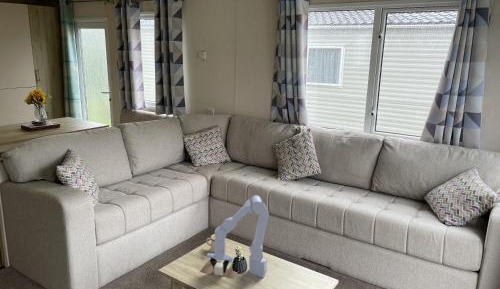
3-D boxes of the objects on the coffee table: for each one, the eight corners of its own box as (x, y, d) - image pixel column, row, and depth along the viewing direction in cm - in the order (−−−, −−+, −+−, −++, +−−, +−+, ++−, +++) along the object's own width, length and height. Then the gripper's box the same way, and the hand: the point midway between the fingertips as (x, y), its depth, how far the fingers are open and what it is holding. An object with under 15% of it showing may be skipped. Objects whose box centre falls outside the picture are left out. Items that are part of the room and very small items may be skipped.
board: (241, 266, 227) (241, 260, 226) (233, 280, 214) (233, 273, 213) (209, 260, 233) (209, 254, 232) (199, 273, 220) (199, 267, 219)
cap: (225, 271, 221) (225, 263, 220) (222, 275, 216) (222, 268, 215) (217, 269, 222) (217, 262, 221) (214, 274, 218) (214, 266, 216)
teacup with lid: (227, 248, 248) (227, 230, 245) (222, 255, 239) (222, 237, 236) (209, 245, 251) (209, 228, 248) (203, 252, 242) (203, 234, 239)
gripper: (235, 247, 217) (234, 269, 221) (210, 243, 221) (210, 265, 225) (230, 253, 211) (230, 276, 214) (205, 249, 215) (205, 271, 218)
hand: (219, 271), depth 219 cm, fingers closed on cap, 5 cm apart
